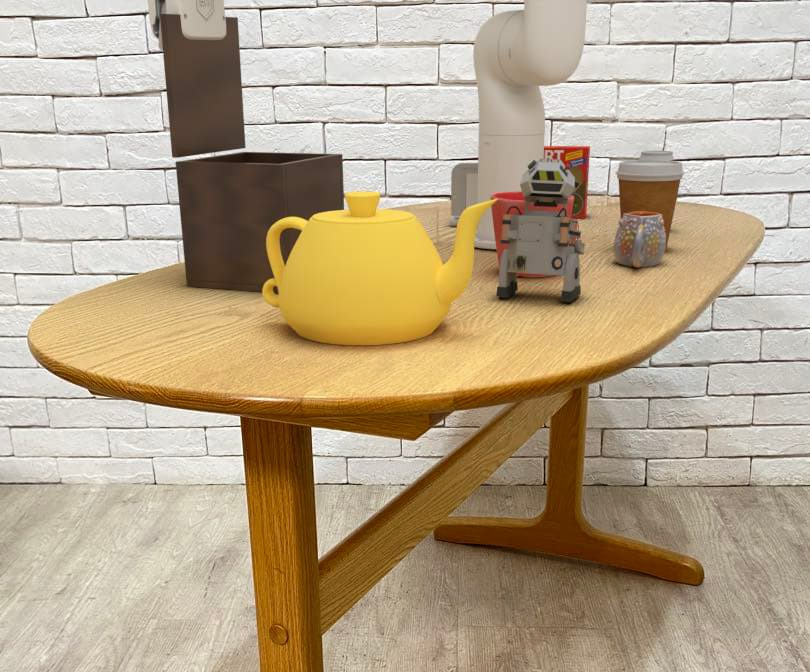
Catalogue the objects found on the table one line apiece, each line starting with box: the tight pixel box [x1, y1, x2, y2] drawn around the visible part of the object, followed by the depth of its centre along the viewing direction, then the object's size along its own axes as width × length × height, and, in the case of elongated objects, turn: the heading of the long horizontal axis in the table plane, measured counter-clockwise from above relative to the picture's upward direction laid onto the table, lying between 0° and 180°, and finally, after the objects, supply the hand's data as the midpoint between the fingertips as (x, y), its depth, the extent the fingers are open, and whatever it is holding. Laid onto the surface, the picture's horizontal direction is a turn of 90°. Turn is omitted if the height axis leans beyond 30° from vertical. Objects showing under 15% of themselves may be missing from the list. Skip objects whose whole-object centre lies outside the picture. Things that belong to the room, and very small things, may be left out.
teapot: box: [261, 190, 498, 346], centre depth 111 cm, size 25×18×14 cm
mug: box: [612, 211, 666, 269], centre depth 144 cm, size 12×7×7 cm, turn 163°
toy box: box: [544, 145, 591, 220], centre depth 191 cm, size 18×4×12 cm, turn 77°
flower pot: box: [491, 191, 574, 278], centre depth 141 cm, size 11×11×10 cm
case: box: [175, 151, 345, 294], centre depth 137 cm, size 15×16×15 cm
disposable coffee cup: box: [615, 159, 685, 252], centre depth 156 cm, size 10×10×12 cm
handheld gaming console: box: [450, 162, 478, 227], centre depth 183 cm, size 13×9×10 cm
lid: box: [160, 14, 246, 159], centre depth 134 cm, size 16×16×1 cm
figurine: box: [495, 159, 586, 304], centre depth 126 cm, size 9×12×15 cm
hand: (193, 103), depth 135 cm, fingers closed
